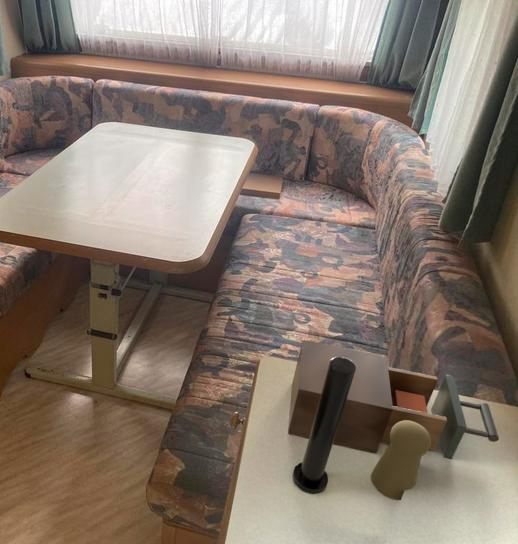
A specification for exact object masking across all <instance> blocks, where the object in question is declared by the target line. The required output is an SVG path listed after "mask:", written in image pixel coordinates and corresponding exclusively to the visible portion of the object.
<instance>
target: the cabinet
mask: <svg viewBox="0 0 518 544" xmlns="http://www.w3.org/2000/svg"><path fill="white" fill-rule="evenodd" d="M335 357H344V358H347V359H349V360H351V361H352V362H353V363H354V364H355V366H356V371H355V374H354V377H353V380H352V384H351V387H350V390H349V393H348V396H347V400H346V403H345V406H344V409H343V413H342V416H341V419H340V422H339V426H338V429H337V432H336V435H335V439H334V442H333V446H334V445H335V446H338V447H343V448H348V449H351V450H356V451H361V452H365V453H368V454H374V455H377V454H378V452H379V449H380V446H381V444H382V443H381V441H382V438H383V435H384V432H385V430H386V427H387V424H388V422H389V419H390V416H391V414H392V411H393V405H392V396H391V388H390V380H389V371H388V367H389V364H388V356H387V355H383V354H378V353H372V352H367V351H362V350H357V349H353V348H346V347H343V346H337V345H332V344H327V343H321V342H317V341H312V340H307V339H302V340H301V344H300V349H299V352H298V357H297V362H296V365H295V371H294V374H293V379H292V384H291V394H290V404H289V416H288V427H287V435H291V436H296V437H299V438H304V439H308V440H309V437H310V433H311V429H312V426H313V422H314V418H315V415H316V411H317V407H318V404H319V400H320V397H321V393H322V389H323V386H324V382H325V378H326V375H327V371H328V367H329V364H330V361H331V359H332V358H335Z"/></svg>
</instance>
